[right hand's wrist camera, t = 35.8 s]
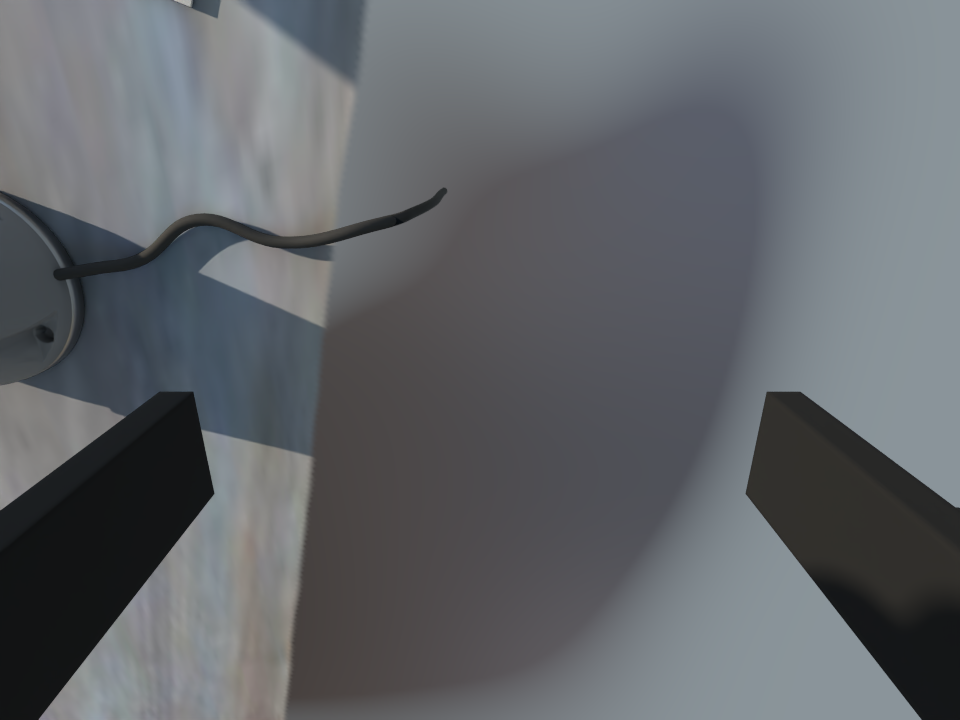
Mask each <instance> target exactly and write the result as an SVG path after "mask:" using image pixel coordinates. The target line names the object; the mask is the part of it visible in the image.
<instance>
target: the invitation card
mask: <svg viewBox="0 0 960 720" xmlns="http://www.w3.org/2000/svg"><path fill="white" fill-rule="evenodd" d="M174 1H176V2H179V3H181V4H184V5H186V6H189V7H191V8H192V4H193V0H174Z"/></svg>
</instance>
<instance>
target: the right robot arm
mask: <svg viewBox="0 0 960 720" xmlns="http://www.w3.org/2000/svg"><path fill="white" fill-rule="evenodd" d="M446 193H447V189H446V188H444V187H443V188H442V189H440V190H439V191H438V192H437V193H436V194H435V195H434V196H433V197H432V198H431V199H429V200H427V201H425V202H423V203H421V204H419V205H416V206H414V207H411V208H409V209H407V210H404V211H402V212H399V213H396V214H392V215H388V216H384V217H380V218H376V219H372V220H368V221H364V222H360V223H356V224H353V225H350V226H346V227H343V228H339V229H336V230H332V231H328V232H324V233H319V234H314V235H307V236H297V237H279V236H271V235H267V234H264V233H261V232H258V231H256V230H253V229H251V228H249V227H247V226H245V225H242V224H240V223H238V222H236V221H233V220H231V219H228V218H226V217H223V216H219V215H214V214H194V215H189V216H186V217H183V218H181V219H179V220H177V221H176V222H174V223H173V224H172V225H170V226H169V227H168V228H167V229H166V230H165V231H164V232H163V233H162V234H161V235H160V237H159V238H158V239H157V240H156V241H155V242H154V243H153V244H152V245H151V246H149V247H148V248H147V249H146V250H144V251H142V252H141V253H139V254H137V255H134V256H132V257H129V258H125V259H119V260H111V261H102V262H95V263H89V264H83V265H77V266H74V265H73V263H72V261H71V259H70V257H69V255H68V254H67V252H66V250H65V249H64V247H63V246H62V244H61V243H60V242H59V240H58V239H57V238H56V236H55V235H54V234H53V233H52V232H51V231H50V229H49V228H48V227H47V226H46V225H45V224H44V223H43V222H42V221H41V220H40V219H39V218H37V217H36V216H35V215H34V214H33V213H32V212H30V211H29V210H28V209H26V208H25V207H24V206H22V205H21V204H19V203H18V202H16V201H15V200H13V199H11V198H9V197H8V196H6V195H4V194H2V193H0V385H5V384H10V383H14V382H18V381H21V380H24V379H27V378H30V377H33V376H35V375H37V374H39V373H41V372H43V371H45V370H47V369H49V368H51V367H53V366H54V365H56V364H57V363H59V362H60V361H61V360H63V359H64V358H65V357H66V356H67V355H68V354H69V352H70V351H71V350H72V348H73V347H74V346H75V344H76V342H77V340H78V338H79V335H80V332H81V329H82V325H83V319H84V299H83V292H82V287H81V284H80V280H79V277H85V276H90V275H96V274H102V273H110V272H119V271H125V270H130V269H134V268H137V267H140V266H142V265H145V264H147V263H149V262H150V261H152V260H154V259H155V258H156V257H157V256H159V255H160V254H161V253H162V252H163V251H164V250H165V249H166V248H167V247H168V246H169V245H170V244H171V243H172V242H173V241H174V240H175V239H176V238H177V237H178V236H179V235H180V234H181V233H183V232H184V231H186V230H188V229H190V228H193V227H197V226H215V227H220V228H223V229H226V230H228V231H231V232H233V233H235V234H237V235H239V236H242V237H244V238H246V239H248V240H251V241H253V242H256V243H258V244H262V245H265V246H269V247H275V248H307V247H315V246H321V245H326V244H330V243H334V242H338V241H342V240H345V239H349V238H352V237H356V236H359V235H363V234H366V233H370V232H374V231H378V230H382V229H386V228H389V227H393V226H397V225H400V224H402V223H405V222H407V221H409V220H411V219H413V218H415V217H417V216H419V215H421V214H423V213H425V212H427V211H429V210H430V209H432V208H434V207H435V206H436V205H438V204H439V203H440V201H441V200H442V198H443V197H444V195H445V194H446ZM213 495H214V490H213V485H212V480H211V475H210V470H209V466H208V461H207V456H206V451H205V446H204V441H203V437H202V432H201V427H200V422H199V417H198V413H197V408H196V403H195V398H194V393H193V392H159V393H157V394H156V395H155V396H153V397H152V398H151V399H149V400H148V401H147V402H145V403H144V404H143V405H141V406H140V407H139V408H137V409H136V410H135V411H133V412H132V413H131V414H129V415H128V416H127V417H125V418H124V419H123V420H121V421H120V422H119V423H117V424H116V425H115V426H113V427H112V428H111V429H109V430H108V431H106V432H105V433H104V434H102V435H101V436H100V437H98V438H97V439H96V440H94V441H93V442H92V443H90V444H89V445H88V446H86V447H85V448H84V449H82V450H81V451H80V452H78V453H77V454H76V455H74V456H73V457H72V458H70V459H69V460H68V461H66V462H65V463H64V464H62V465H61V466H60V467H58V468H57V469H56V470H54V471H53V472H52V473H50V474H49V475H48V476H46V477H45V478H43V479H42V480H41V481H39V482H38V483H37V484H35V485H34V486H33V487H31V488H30V489H29V490H27V491H26V492H25V493H23V494H22V495H21V496H19V497H18V498H17V499H15V500H14V501H13V502H11V503H10V504H9V505H7V506H6V507H5V508H3V509H2V510H0V720H38V719H39V718H40V717H41V715H42V714H43V713H44V712H45V710H46V709H47V708H48V706H49V705H50V704H51V703H52V701H53V700H54V699H55V697H56V696H57V695H58V694H59V692H60V691H61V690H62V689H63V687H64V686H65V685H66V683H67V682H68V681H69V680H70V678H71V677H72V676H73V674H74V673H75V672H76V671H77V669H78V668H79V667H80V665H81V664H82V663H83V662H84V660H85V659H86V658H87V656H88V655H89V654H90V653H91V651H92V650H93V649H94V647H95V646H96V645H97V644H98V642H99V641H100V640H101V638H102V637H103V636H104V635H105V633H106V632H107V631H108V629H109V628H110V627H111V626H112V624H113V623H114V622H115V621H116V619H117V618H118V617H119V615H120V614H121V613H122V612H123V610H124V609H125V608H126V606H127V605H128V604H129V603H130V601H131V600H132V599H133V597H134V596H135V595H136V594H137V592H138V591H139V590H140V588H141V587H142V586H143V585H144V583H145V582H146V581H147V579H148V578H149V577H150V576H151V574H152V573H153V572H154V570H155V569H156V568H157V567H158V565H159V564H160V563H161V561H162V560H163V559H164V558H165V556H166V555H167V554H168V552H169V551H170V550H171V549H172V547H173V546H174V545H175V544H176V542H177V541H178V540H179V538H180V537H181V536H182V535H183V533H184V532H185V531H186V529H187V528H188V527H189V526H190V524H191V523H192V522H193V520H194V519H195V518H196V517H197V515H198V514H199V513H200V511H201V510H202V509H203V508H204V506H205V505H206V504H207V502H208V501H209V500H210V499H211V497H212V496H213ZM746 495H747V496H748V497H749V499H750V500H751V501H752V502H753V504H754V505H755V506H756V508H757V509H758V510H759V511H760V513H761V514H762V515H763V517H764V518H765V519H766V520H767V522H768V523H769V524H770V526H771V527H772V528H773V529H774V531H775V532H776V533H777V534H778V536H779V537H780V538H781V540H782V541H783V542H784V544H785V545H786V546H787V547H788V549H789V550H790V551H791V552H792V554H793V555H794V556H795V558H796V559H797V560H798V561H799V563H800V564H801V565H802V567H803V568H804V569H805V570H806V572H807V573H808V574H809V576H810V577H811V578H812V579H813V581H814V582H815V583H816V585H817V586H818V587H819V588H820V590H821V591H822V592H823V594H824V595H825V596H826V597H827V599H828V600H829V601H830V603H831V604H832V605H833V606H834V608H835V609H836V610H837V612H838V613H839V614H840V615H841V617H842V618H843V619H844V621H845V622H846V623H847V624H848V626H849V627H850V628H851V629H852V631H853V632H854V633H855V635H856V636H857V637H858V638H859V640H860V641H861V642H862V644H863V645H864V646H865V647H866V649H867V650H868V651H869V653H870V654H871V655H872V656H873V658H874V659H875V660H876V662H877V663H878V664H879V665H880V667H881V668H882V669H883V671H884V672H885V673H886V674H887V676H888V677H889V678H890V679H891V681H892V682H893V683H894V685H895V686H896V687H897V689H898V690H899V691H900V692H901V694H902V695H903V696H904V697H905V699H906V700H907V701H908V703H909V704H910V705H911V706H912V708H913V709H914V710H915V712H916V713H917V714H918V715H919V717H920V718H921V719H922V720H960V508H955V507H954V506H953V505H951V504H950V503H949V502H947V501H946V500H945V499H943V498H942V497H941V496H939V495H938V494H937V493H935V492H934V491H933V490H931V489H930V488H929V487H927V486H926V485H925V484H923V483H922V482H921V481H919V480H918V479H917V478H915V477H914V476H912V475H911V474H910V473H908V472H907V471H906V470H904V469H903V468H902V467H900V466H899V465H898V464H896V463H895V462H894V461H892V460H891V459H890V458H888V457H887V456H886V455H884V454H883V453H882V452H880V451H879V450H878V449H876V448H875V447H874V446H872V445H871V444H870V443H868V442H867V441H866V440H864V439H863V438H861V437H860V436H859V435H858V434H856V433H855V432H854V431H852V430H851V429H849V428H848V427H847V426H845V425H844V424H843V423H841V422H840V421H839V420H837V419H836V418H835V417H833V416H832V415H831V414H829V413H828V412H827V411H825V410H824V409H823V408H821V407H820V406H819V405H817V404H816V403H815V402H813V401H812V400H811V399H809V398H808V397H807V396H805V395H804V394H802V393H801V392H767V394H766V398H765V403H764V408H763V413H762V417H761V422H760V427H759V432H758V437H757V441H756V446H755V451H754V456H753V461H752V466H751V470H750V475H749V480H748V485H747V490H746Z"/></svg>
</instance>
